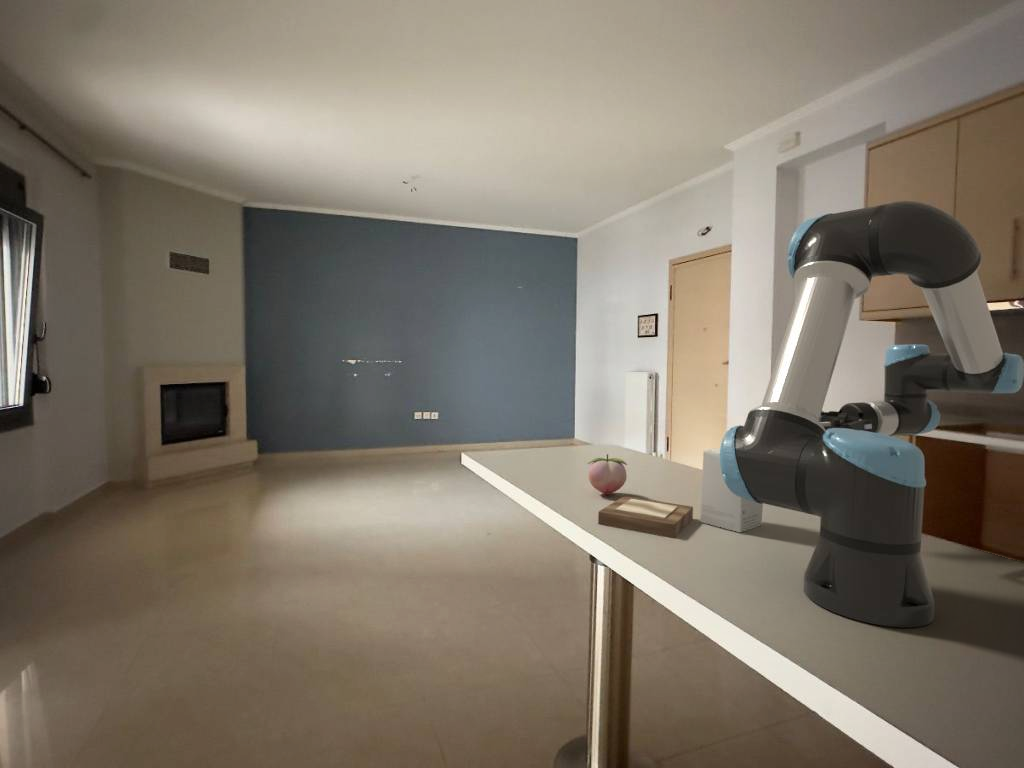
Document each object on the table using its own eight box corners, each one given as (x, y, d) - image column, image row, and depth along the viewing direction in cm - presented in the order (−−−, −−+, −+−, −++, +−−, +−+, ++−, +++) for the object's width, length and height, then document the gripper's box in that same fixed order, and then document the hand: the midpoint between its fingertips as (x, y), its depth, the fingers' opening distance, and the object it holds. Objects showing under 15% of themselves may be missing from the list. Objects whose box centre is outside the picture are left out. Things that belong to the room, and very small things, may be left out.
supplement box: (740, 534, 105) (744, 456, 104) (698, 522, 111) (701, 450, 111) (763, 525, 110) (766, 452, 110) (722, 515, 117) (724, 446, 117)
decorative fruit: (622, 491, 137) (623, 451, 137) (628, 499, 129) (629, 457, 129) (584, 490, 137) (586, 450, 137) (588, 498, 129) (590, 456, 129)
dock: (673, 537, 101) (674, 522, 101) (598, 523, 109) (598, 510, 109) (692, 518, 114) (693, 505, 114) (623, 507, 122) (624, 494, 122)
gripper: (919, 448, 103) (821, 456, 99) (821, 428, 128) (739, 433, 124) (920, 409, 103) (822, 415, 99) (821, 396, 127) (739, 400, 123)
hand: (776, 425), depth 111 cm, fingers open, 13 cm apart
